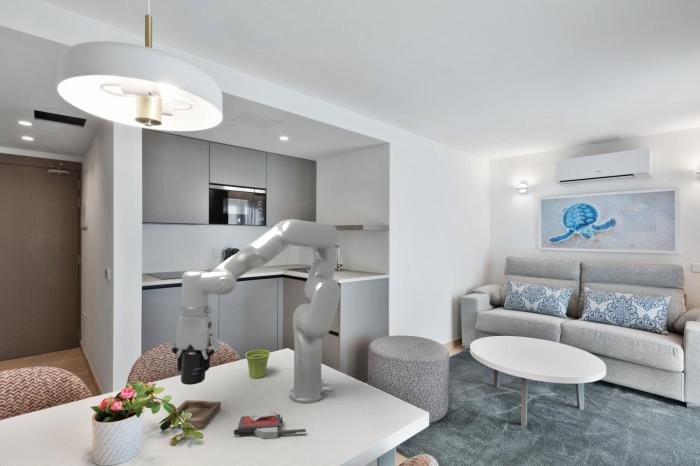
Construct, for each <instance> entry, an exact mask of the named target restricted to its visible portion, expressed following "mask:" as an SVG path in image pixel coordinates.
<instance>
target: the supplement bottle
mask: <svg viewBox="0 0 700 466" xmlns="http://www.w3.org/2000/svg"><path fill="white" fill-rule="evenodd" d="M193 349H194V348H193V346H192V345H191V346H190V344H189V345H188V348H187V350H185V351H183V353H182V360H181V371H180V382H181V384H183V385H186V386H187V385H188V386H189V385H197V384H201V383H202V382H204V380H205V379H206V372H204V373H202V359H204V357H203V355H202V352H201V350H193Z"/></svg>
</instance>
